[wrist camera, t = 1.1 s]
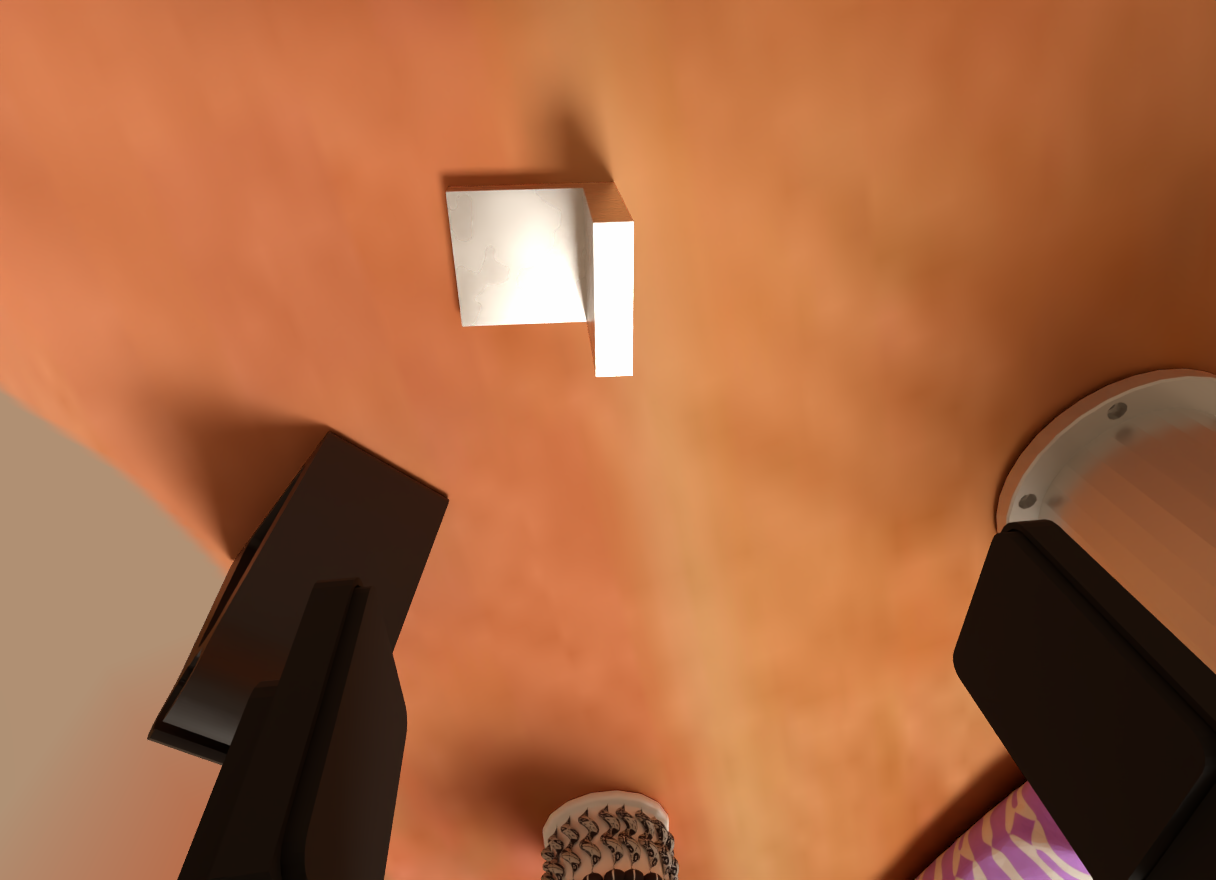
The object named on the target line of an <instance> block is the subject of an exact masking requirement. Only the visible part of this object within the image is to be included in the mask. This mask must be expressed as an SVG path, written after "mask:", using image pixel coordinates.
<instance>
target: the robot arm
mask: <svg viewBox="0 0 1216 880" xmlns="http://www.w3.org/2000/svg"><path fill="white" fill-rule="evenodd" d="M996 519H997V532H998V533H997V534H996V535H995V536H994V538H993V540H992V542H991V545H990V548H989V551H988V554H987V557H986V560H985V563H984V565H983V568H982V571H981V574H980V577H979V580H978V583H977V586H976V589H975V592H974V594H973V597H972V600H971V603H970V606H969V609H968V612H967V615H966V618H965V621H964V623H963V626H962V629H961V632H960V635H959V638H958V641H957V644H956V647H955V650H954V654H953V662H954V667H955V670H956V673H957V675H958V677H959V678H960V680H961V681H962V683H963V684H964V686H965V687H966V689H967V690H968V692H969V693H970V695H971V696H972V698H973V699H974V701H975V702H976V704H977V705H978V707H979V708H980V710H981V711H982V713H983V714H984V716H985V718H986V719H987V721H988V722H989V724H990V725H991V727H992V728H993V730H994V731H995V733H996V734H997V736H998V737H999V739H1000V740H1001V742H1002V743H1003V745H1004V746H1005V748H1006V749H1007V751H1008V752H1009V754H1010V755H1011V757H1012V758H1013V760H1014V761H1015V763H1016V764H1017V766H1018V767H1019V769H1020V770H1021V772H1022V773H1023V775H1024V776H1025V778H1026V779H1027V781H1028V782H1029V784H1030V785H1031V787H1032V788H1033V790H1034V791H1035V793H1036V794H1037V796H1038V797H1039V799H1040V800H1041V802H1042V803H1043V805H1044V806H1045V808H1046V809H1047V811H1048V812H1049V814H1050V815H1051V817H1052V818H1053V820H1054V821H1055V823H1056V824H1057V826H1058V827H1059V829H1060V830H1061V832H1062V833H1063V835H1064V836H1065V838H1066V839H1067V841H1068V842H1069V844H1070V845H1071V847H1072V848H1073V850H1074V851H1075V853H1076V854H1077V856H1078V857H1079V859H1080V860H1081V862H1082V863H1083V865H1084V866H1085V868H1086V869H1087V871H1088V872H1089V874H1090V875H1091V877H1092V878H1093V880H1216V375H1214V374H1211V373H1209V372H1206V371H1199V370H1192V369H1185V368H1184V369H1165V370H1157V371H1152V372H1148V373H1143V374H1139V375H1134V376H1131V377H1129V378H1126V379H1123V380H1121V381H1118V382H1115V383H1113V384H1110V385H1107V386H1105V387H1104V388H1102V389H1100V390H1098V391H1096V392H1094V393H1092V394H1090V395H1089V396H1087V397H1085V398H1083V399H1081V400H1080V401H1078V402H1077V403H1075V404H1074V405H1073V406H1071V407H1070V408H1068V409H1067V410H1066V411H1064V412H1063V413H1061V414H1060V415H1059V416H1057V417H1056V418H1055V419H1054V420H1053V421H1052V422H1051V423H1050V424H1048V425H1047V426H1046V427H1045V428H1044V429H1043V430H1042V431H1041V432H1040V433H1039V434H1038V435H1037V436H1036V437H1035V438H1034V439H1033V440H1032V442H1031V443H1030V444H1029V445H1028V446H1027V448H1026V449H1025V450H1024V451H1023V453H1022V454H1021V455H1020V456H1019V458H1018V460H1017V461H1016V463H1015V465H1014V466H1013V468H1012V470H1011V471H1010V473H1009V475H1008V476H1007V479H1006V481H1005V484H1004V486H1003V489H1002V492H1001V494H1000V497H999V503H998V509H997V515H996ZM406 732H407V712H406V706H405V702H404V698H403V694H402V690H401V686H400V682H399V678H398V674H397V670H396V666H395V662H394V658H393V654H392V650H391V646H390V642H389V638H388V634H387V630H386V626H385V622H384V618H383V614H382V610H381V606H380V602H379V598H378V594H377V591H376V588H375V587H374V586H368V587H364V586H363V583H362V581H361V579H360V578H359V577H353V578H341V579H329V580H318V581H317V582H316V583H315V584H314V586H313V588H312V591H311V594H310V597H309V599H308V602H307V605H306V608H305V610H304V613H303V616H302V619H301V622H300V624H299V627H298V630H297V633H296V636H295V638H294V641H293V644H292V647H291V650H290V652H289V655H288V658H287V661H286V664H285V666H284V669H283V672H282V675H281V678H280V679H275V680H265V681H261V682H259V683H258V684H257V685H256V686H255V687H254V689H253V691H252V693H251V695H250V697H249V699H248V701H247V704H246V706H245V709H244V712H243V714H242V717H241V719H240V722H239V724H238V727H237V729H236V732H235V734H234V737H233V740H232V742H231V745H230V747H229V750H228V752H227V755H226V757H225V760H224V762H223V765H222V768H221V770H220V773H219V775H218V778H217V780H216V783H215V785H214V788H213V791H212V793H211V795H210V798H209V801H208V803H207V806H206V808H205V811H204V813H203V816H202V818H201V821H200V824H199V826H198V828H197V831H196V834H195V836H194V839H193V841H192V844H191V846H190V849H189V851H188V854H187V856H186V859H185V862H184V864H183V867H182V869H181V872H180V874H179V877H178V879H177V880H384V875H385V868H386V862H387V855H388V849H389V843H390V836H391V830H392V823H393V817H394V810H395V804H396V797H397V791H398V784H399V778H400V772H401V765H402V759H403V752H404V746H405V739H406Z"/></svg>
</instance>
